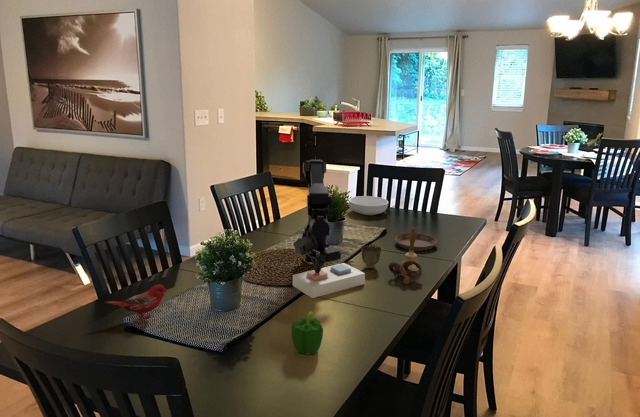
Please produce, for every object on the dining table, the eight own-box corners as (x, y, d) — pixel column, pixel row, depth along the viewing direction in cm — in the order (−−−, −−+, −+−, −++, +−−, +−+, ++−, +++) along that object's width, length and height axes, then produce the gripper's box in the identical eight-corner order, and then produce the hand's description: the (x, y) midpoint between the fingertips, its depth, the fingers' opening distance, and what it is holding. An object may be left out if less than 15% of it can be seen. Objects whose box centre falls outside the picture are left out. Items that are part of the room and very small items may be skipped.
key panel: (292, 285, 175) (292, 274, 174) (343, 273, 188) (343, 262, 187) (312, 298, 166) (312, 286, 165) (364, 284, 178) (364, 273, 177)
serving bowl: (346, 217, 263) (346, 204, 261) (350, 207, 283) (351, 195, 281) (386, 219, 259) (387, 206, 258) (388, 209, 279) (389, 197, 278)
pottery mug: (418, 276, 188) (425, 261, 182) (414, 295, 181) (422, 281, 175) (387, 265, 189) (393, 251, 183) (382, 284, 182) (388, 270, 176)
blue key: (330, 274, 179) (330, 266, 179) (341, 272, 182) (342, 264, 181) (339, 279, 176) (339, 271, 175) (350, 276, 178) (350, 268, 178)
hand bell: (423, 266, 196) (426, 226, 192) (417, 273, 189) (421, 232, 185) (402, 262, 200) (405, 223, 196) (396, 269, 192) (398, 228, 188)
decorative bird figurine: (169, 316, 151) (167, 285, 149) (105, 323, 146) (102, 291, 144) (169, 312, 154) (167, 281, 151) (106, 319, 149) (103, 287, 146)
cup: (379, 272, 189) (380, 251, 187) (359, 270, 191) (360, 250, 189) (380, 265, 196) (381, 245, 194) (361, 263, 198) (362, 243, 196)
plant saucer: (425, 255, 208) (425, 248, 208) (387, 246, 219) (387, 239, 218) (443, 245, 222) (443, 238, 221) (406, 237, 232) (407, 230, 232)
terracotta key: (306, 280, 174) (307, 271, 173) (318, 277, 177) (319, 269, 176) (315, 285, 170) (315, 276, 169) (327, 281, 173) (327, 273, 172)
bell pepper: (308, 362, 129) (308, 326, 126) (285, 350, 134) (285, 315, 132) (329, 349, 135) (330, 315, 133) (307, 338, 140) (307, 305, 138)
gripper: (282, 225, 172) (282, 268, 175) (313, 240, 157) (312, 287, 161) (310, 220, 178) (309, 262, 182) (342, 234, 163) (341, 280, 167)
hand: (317, 272), depth 173 cm, fingers closed, pressing on terracotta key
